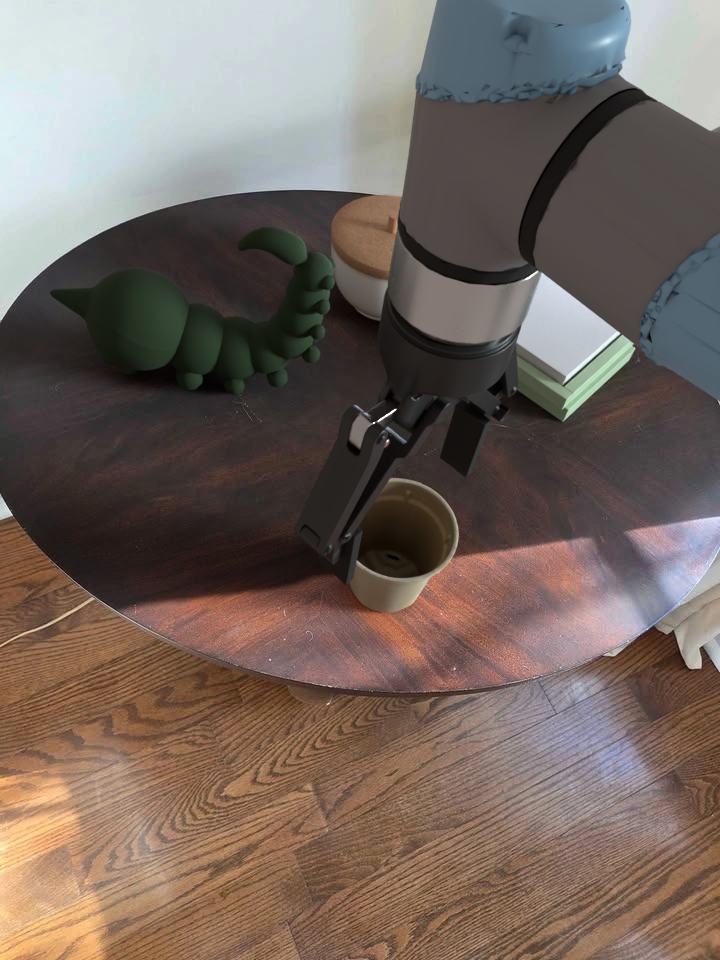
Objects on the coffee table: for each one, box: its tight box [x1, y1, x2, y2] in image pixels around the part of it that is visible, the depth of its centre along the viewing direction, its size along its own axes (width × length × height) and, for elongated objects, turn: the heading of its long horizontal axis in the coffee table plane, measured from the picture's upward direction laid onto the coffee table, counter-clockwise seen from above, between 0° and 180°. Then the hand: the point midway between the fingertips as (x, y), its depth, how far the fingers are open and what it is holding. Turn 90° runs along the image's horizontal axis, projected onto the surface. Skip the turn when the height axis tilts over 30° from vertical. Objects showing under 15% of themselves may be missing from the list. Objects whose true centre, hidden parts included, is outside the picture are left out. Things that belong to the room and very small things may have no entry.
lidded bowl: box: [330, 194, 402, 322], centre depth 83 cm, size 13×13×11 cm
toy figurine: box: [49, 226, 336, 396], centre depth 71 cm, size 9×19×25 cm
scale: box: [517, 334, 636, 423], centre depth 83 cm, size 15×14×4 cm
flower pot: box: [348, 477, 460, 614], centre depth 63 cm, size 9×9×9 cm
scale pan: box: [516, 273, 621, 386], centre depth 82 cm, size 11×11×2 cm
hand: (398, 514), depth 58 cm, fingers open, 13 cm apart
